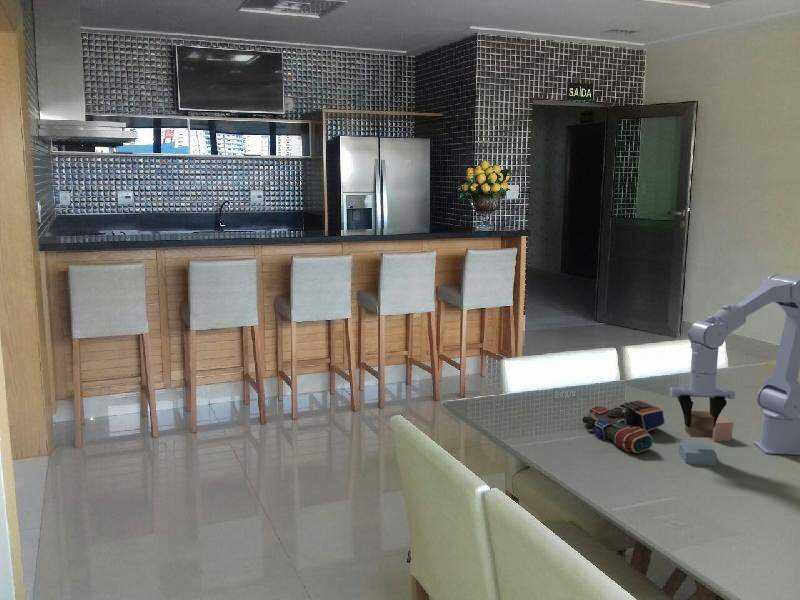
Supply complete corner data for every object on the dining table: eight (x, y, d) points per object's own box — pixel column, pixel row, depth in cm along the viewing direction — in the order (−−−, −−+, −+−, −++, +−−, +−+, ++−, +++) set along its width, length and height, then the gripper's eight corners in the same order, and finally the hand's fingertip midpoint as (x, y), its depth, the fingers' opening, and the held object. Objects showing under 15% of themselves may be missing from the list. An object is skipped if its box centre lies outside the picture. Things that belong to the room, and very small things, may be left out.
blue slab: (707, 455, 176) (708, 444, 176) (716, 466, 169) (717, 454, 169) (678, 453, 177) (679, 442, 177) (685, 464, 170) (686, 452, 170)
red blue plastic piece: (627, 439, 173) (694, 412, 178) (571, 411, 197) (632, 388, 202) (632, 468, 175) (698, 441, 180) (577, 437, 199) (636, 414, 204)
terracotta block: (720, 434, 191) (721, 416, 190) (731, 440, 186) (733, 422, 185) (702, 435, 190) (704, 417, 189) (714, 441, 185) (715, 423, 184)
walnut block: (706, 430, 175) (707, 411, 174) (712, 437, 170) (714, 417, 169) (684, 430, 175) (686, 410, 175) (690, 437, 170) (692, 417, 170)
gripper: (729, 368, 173) (724, 421, 175) (667, 366, 175) (664, 419, 177) (739, 375, 166) (735, 431, 168) (675, 373, 168) (672, 428, 170)
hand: (699, 426), depth 172 cm, fingers closed on walnut block, 5 cm apart
